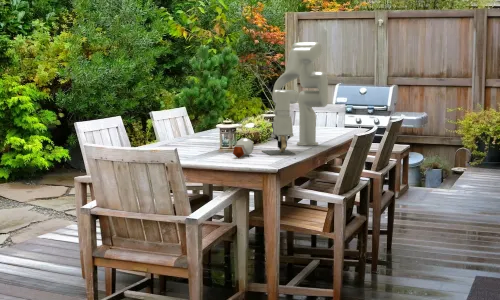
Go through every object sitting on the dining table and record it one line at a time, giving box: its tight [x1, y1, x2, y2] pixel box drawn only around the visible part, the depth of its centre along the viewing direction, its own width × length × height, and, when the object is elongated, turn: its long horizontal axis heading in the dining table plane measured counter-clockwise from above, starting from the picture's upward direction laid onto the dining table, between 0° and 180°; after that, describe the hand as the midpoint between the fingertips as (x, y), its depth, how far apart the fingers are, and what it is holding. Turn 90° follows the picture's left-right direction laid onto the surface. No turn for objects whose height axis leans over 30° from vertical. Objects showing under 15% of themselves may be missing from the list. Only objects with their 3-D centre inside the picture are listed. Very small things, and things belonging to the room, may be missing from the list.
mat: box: [261, 149, 296, 156], centre depth 382 cm, size 16×14×1 cm
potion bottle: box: [232, 137, 255, 159], centre depth 369 cm, size 9×10×15 cm
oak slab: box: [279, 135, 287, 152], centre depth 380 cm, size 7×2×6 cm
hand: (282, 148), depth 380 cm, fingers closed on oak slab, 2 cm apart
